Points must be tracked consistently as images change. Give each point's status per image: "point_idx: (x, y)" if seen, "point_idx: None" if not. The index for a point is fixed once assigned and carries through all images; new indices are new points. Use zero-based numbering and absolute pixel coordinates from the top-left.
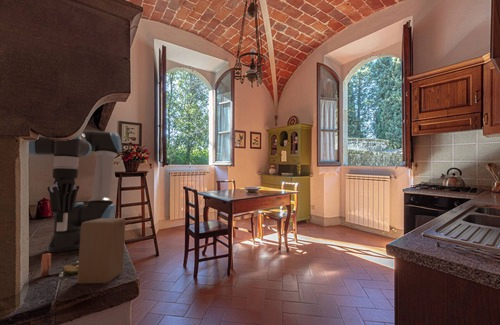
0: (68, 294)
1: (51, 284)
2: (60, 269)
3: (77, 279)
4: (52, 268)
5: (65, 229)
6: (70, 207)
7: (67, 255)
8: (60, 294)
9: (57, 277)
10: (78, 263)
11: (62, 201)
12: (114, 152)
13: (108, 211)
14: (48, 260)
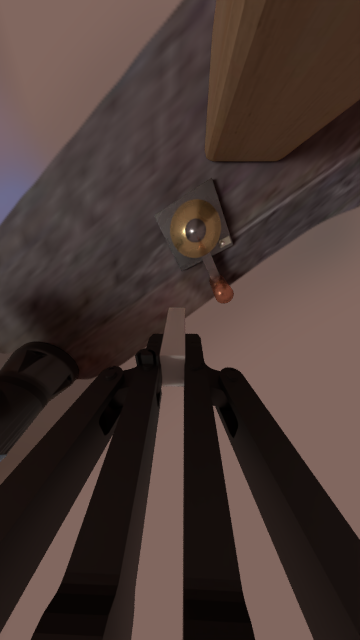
0: (330, 142)
1: (248, 241)
2: (211, 257)
3: (288, 153)
4: (210, 275)
5: (176, 309)
6: (117, 389)
7: (84, 335)
8: (320, 168)
9: (230, 245)
10: (318, 130)
11: (219, 459)
12: None
13: None
14: (226, 282)
